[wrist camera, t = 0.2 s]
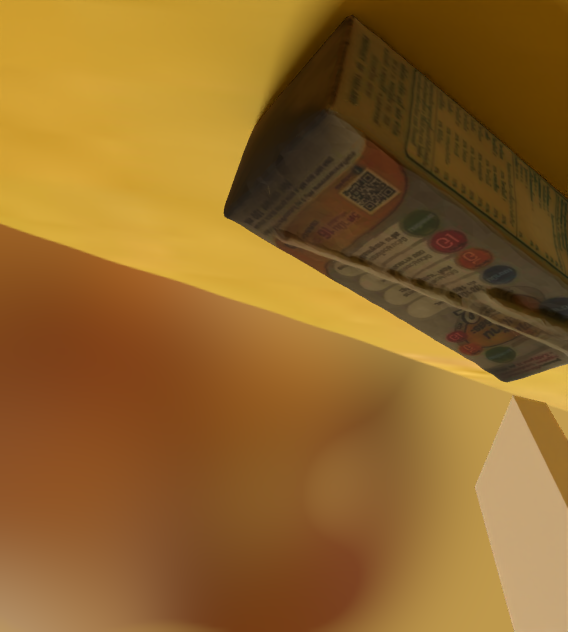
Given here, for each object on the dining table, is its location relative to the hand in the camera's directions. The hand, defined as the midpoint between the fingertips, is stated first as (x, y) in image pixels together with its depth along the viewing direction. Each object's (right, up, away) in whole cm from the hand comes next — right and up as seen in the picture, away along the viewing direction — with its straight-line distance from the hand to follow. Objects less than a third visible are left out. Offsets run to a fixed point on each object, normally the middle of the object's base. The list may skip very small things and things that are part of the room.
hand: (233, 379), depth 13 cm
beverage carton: (+9, +8, +14) cm, 19 cm away
